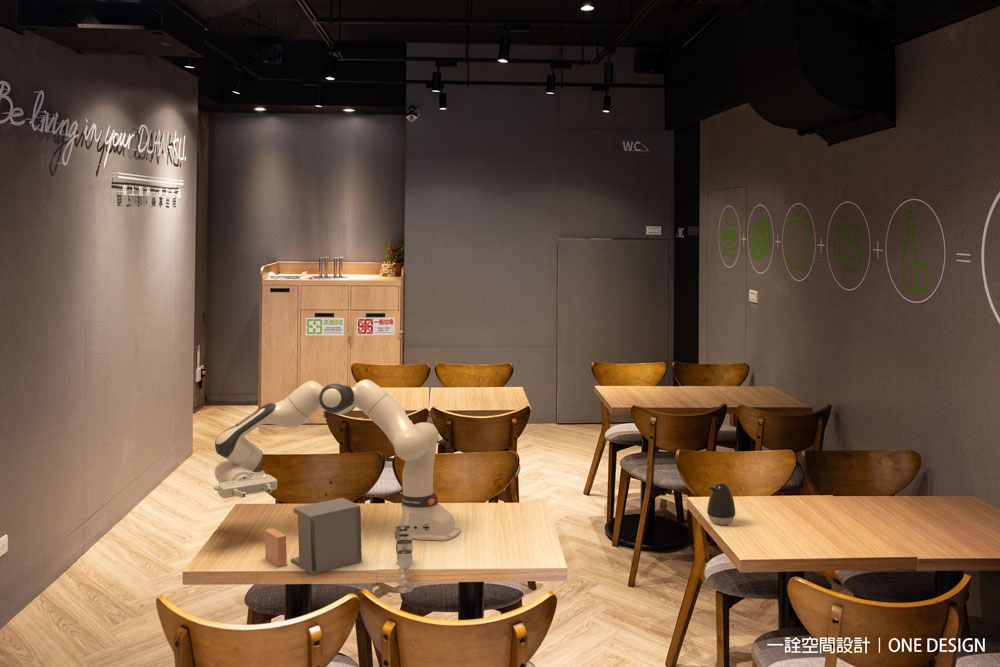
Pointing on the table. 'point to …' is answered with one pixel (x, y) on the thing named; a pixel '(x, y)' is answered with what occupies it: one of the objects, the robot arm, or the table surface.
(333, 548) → the overhang dock
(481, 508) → the table surface
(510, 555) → the table surface
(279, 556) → the tile panel
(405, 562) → the goblet set
